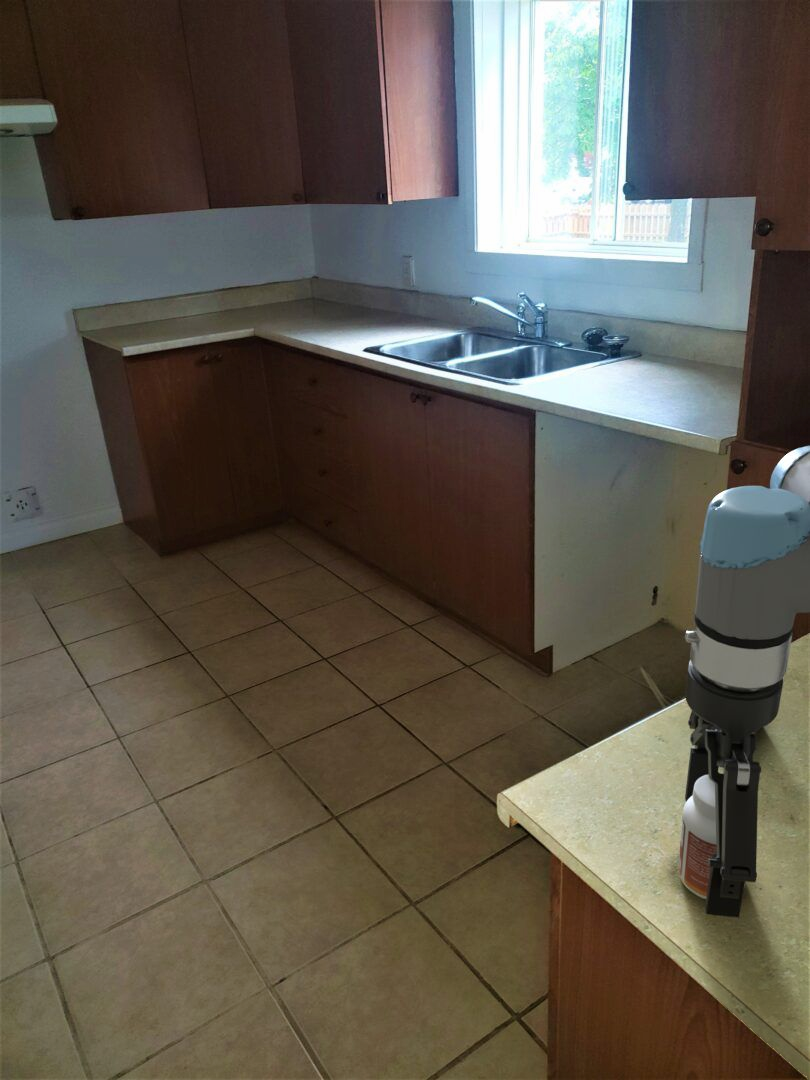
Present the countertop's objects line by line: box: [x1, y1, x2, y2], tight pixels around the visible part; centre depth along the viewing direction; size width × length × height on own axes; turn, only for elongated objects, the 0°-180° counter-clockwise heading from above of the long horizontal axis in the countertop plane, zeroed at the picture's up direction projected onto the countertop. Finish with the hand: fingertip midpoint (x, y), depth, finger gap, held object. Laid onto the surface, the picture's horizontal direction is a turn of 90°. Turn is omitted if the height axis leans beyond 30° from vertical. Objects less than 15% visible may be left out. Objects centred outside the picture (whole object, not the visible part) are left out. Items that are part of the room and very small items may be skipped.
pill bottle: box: [677, 774, 747, 900], centre depth 77 cm, size 6×6×11 cm
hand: (709, 853), depth 78 cm, fingers open, 13 cm apart
